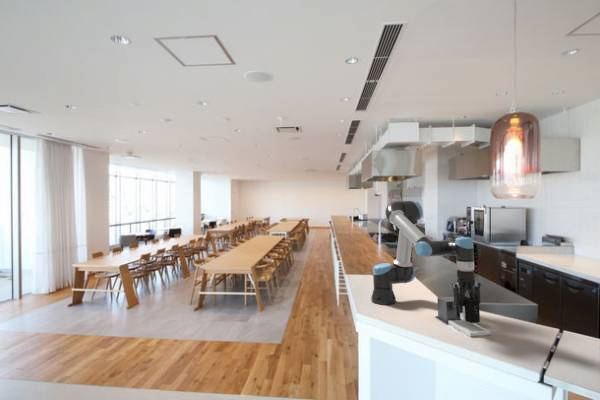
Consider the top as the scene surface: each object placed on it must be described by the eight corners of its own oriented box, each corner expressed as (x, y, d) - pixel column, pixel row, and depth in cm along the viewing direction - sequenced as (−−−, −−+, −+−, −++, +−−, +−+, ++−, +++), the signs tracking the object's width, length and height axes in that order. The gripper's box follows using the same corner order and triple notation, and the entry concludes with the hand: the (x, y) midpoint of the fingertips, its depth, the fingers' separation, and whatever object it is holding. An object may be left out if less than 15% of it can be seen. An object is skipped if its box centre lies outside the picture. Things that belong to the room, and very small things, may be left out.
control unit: (435, 317, 163) (434, 297, 163) (459, 316, 165) (458, 295, 165) (446, 324, 153) (445, 302, 154) (472, 322, 155) (471, 300, 155)
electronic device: (472, 323, 141) (471, 301, 141) (456, 316, 150) (455, 296, 151) (480, 322, 142) (479, 300, 142) (463, 316, 151) (462, 295, 152)
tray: (448, 324, 153) (448, 320, 153) (466, 322, 154) (466, 319, 154) (469, 336, 137) (469, 332, 137) (490, 335, 139) (490, 331, 139)
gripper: (453, 272, 142) (455, 323, 141) (488, 270, 145) (490, 320, 143) (443, 269, 150) (446, 317, 149) (477, 267, 152) (479, 315, 151)
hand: (468, 319), depth 146 cm, fingers closed on electronic device, 5 cm apart
